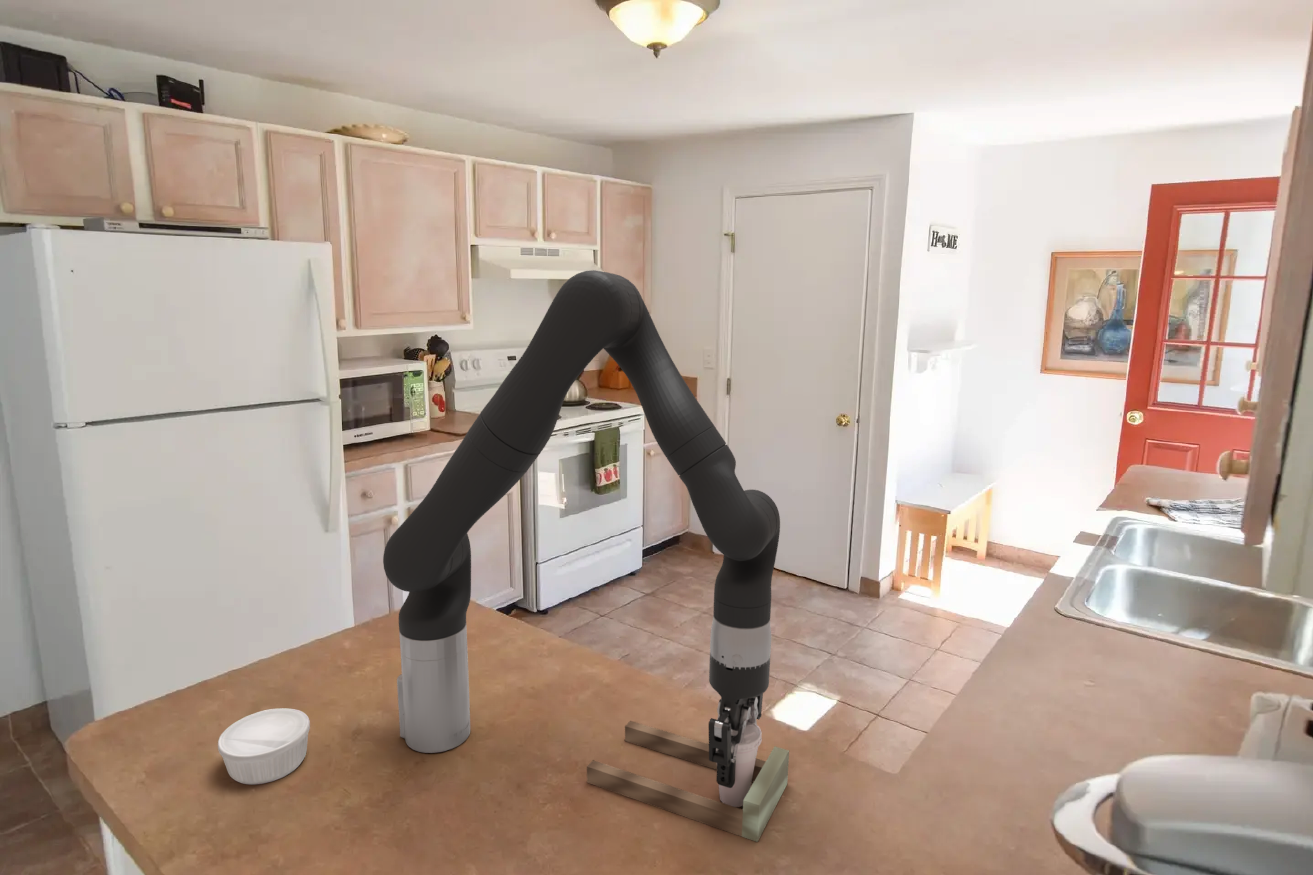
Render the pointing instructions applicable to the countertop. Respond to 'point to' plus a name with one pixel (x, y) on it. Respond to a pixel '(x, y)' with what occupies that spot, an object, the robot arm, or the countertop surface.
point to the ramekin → (265, 745)
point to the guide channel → (744, 822)
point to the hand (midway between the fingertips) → (735, 769)
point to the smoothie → (743, 766)
